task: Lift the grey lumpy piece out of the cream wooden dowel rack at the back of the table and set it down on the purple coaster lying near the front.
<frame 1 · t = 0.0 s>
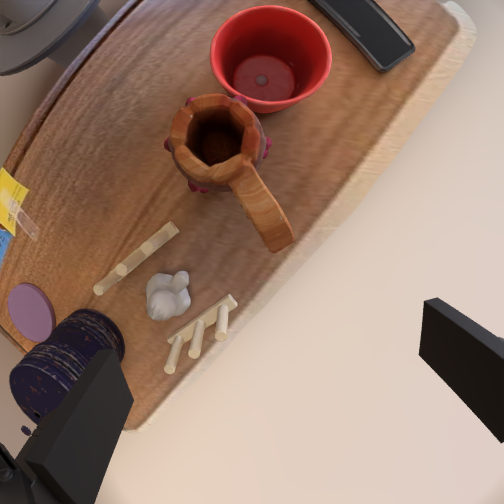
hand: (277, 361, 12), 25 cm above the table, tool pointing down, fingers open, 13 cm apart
grey lumpy piece: (173, 286, 37), on the table
mug: (235, 174, 35), on the table
phone: (360, 21, 31), on the table
rack: (172, 287, 37), on the table
flower pot: (262, 83, 32), on the table
dark blue barrel: (94, 339, 38), on the table
purple coaster: (32, 311, 37), on the table
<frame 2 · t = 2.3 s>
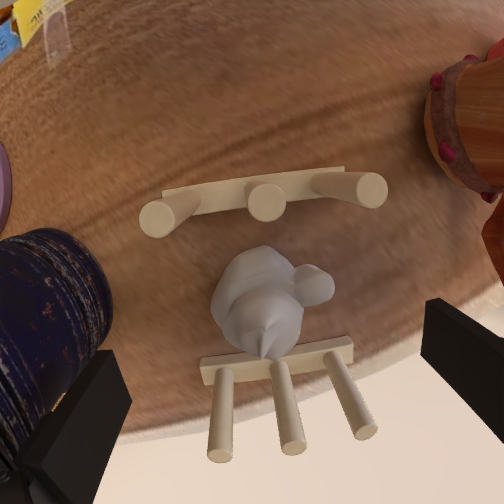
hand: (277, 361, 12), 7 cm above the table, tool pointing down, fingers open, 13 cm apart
grey lumpy piece: (266, 280, 19), on the table
mug: (454, 165, 18), on the table
rack: (267, 281, 19), on the table
dark blue barrel: (55, 294, 19), on the table, touching gripper, hand
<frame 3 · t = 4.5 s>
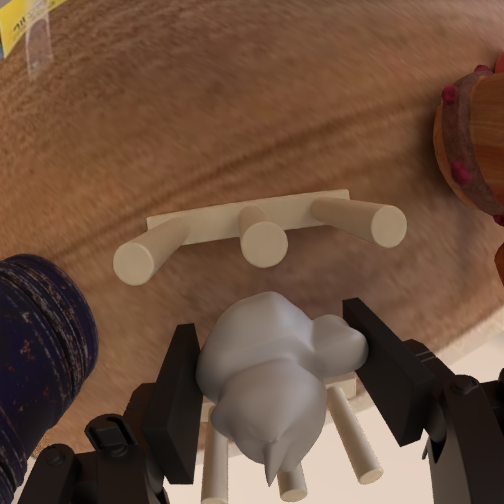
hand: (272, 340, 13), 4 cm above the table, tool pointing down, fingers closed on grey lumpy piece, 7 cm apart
grey lumpy piece: (271, 331, 14), point 3 cm above the table, touching gripper
mug: (463, 184, 16), on the table
rack: (263, 315, 17), on the table
dark blue barrel: (38, 323, 17), on the table
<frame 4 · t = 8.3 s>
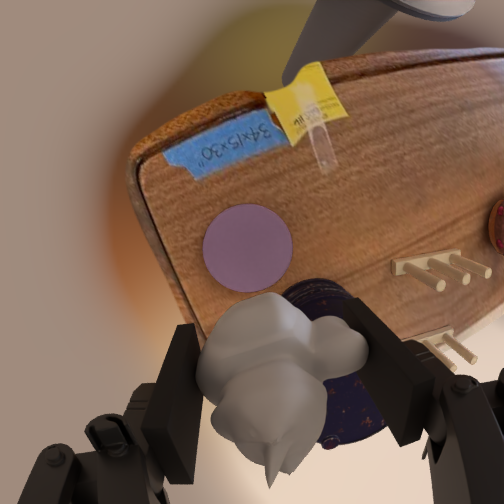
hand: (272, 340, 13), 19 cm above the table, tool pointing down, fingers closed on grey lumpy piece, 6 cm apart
grey lumpy piece: (271, 332, 14), point 19 cm above the table, touching gripper
mug: (496, 241, 34), on the table
rack: (424, 301, 35), on the table
dark blue barrel: (313, 318, 34), on the table
purple coaster: (247, 247, 32), on the table
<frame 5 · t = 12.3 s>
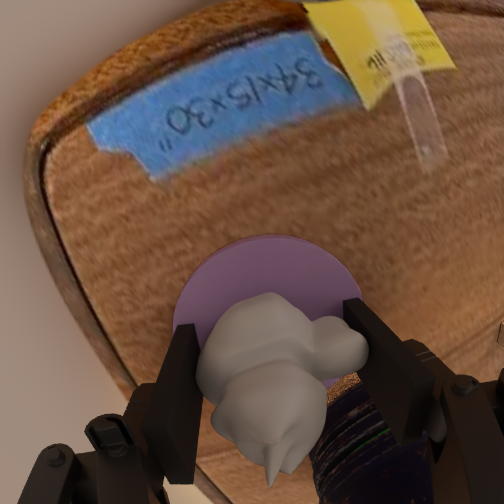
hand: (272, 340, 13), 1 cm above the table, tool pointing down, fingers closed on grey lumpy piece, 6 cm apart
grey lumpy piece: (271, 332, 14), point 1 cm above the table, touching gripper, purple coaster
dark blue barrel: (376, 426, 17), on the table
purple coaster: (270, 327, 15), on the table
when the fingers open (1 cm above the table, at t = 12.4 s): grey lumpy piece stays where it is, resting on purple coaster.
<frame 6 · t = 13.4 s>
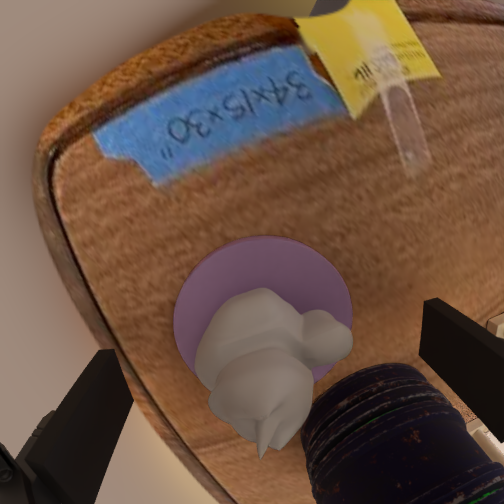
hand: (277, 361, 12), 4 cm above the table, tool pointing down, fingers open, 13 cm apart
grey lumpy piece: (264, 326, 15), point 1 cm above the table, touching purple coaster
dark blue barrel: (367, 418, 18), on the table
purple coaster: (263, 321, 16), on the table
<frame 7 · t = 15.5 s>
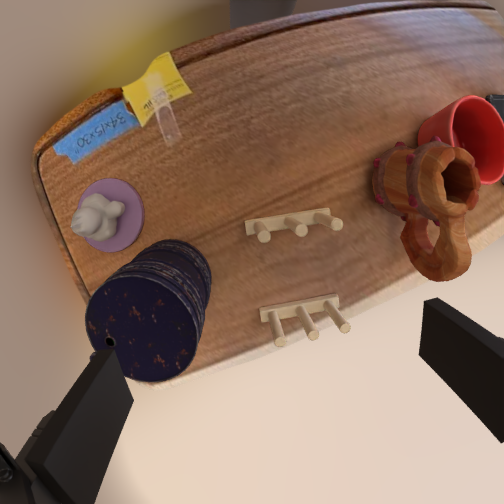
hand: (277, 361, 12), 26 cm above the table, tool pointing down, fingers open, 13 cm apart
grey lumpy piece: (108, 214, 35), point 1 cm above the table, touching purple coaster
mug: (391, 200, 37), on the table
rack: (293, 264, 38), on the table
flower pot: (437, 144, 36), on the table
dark blue barrel: (172, 277, 38), on the table
purple coaster: (110, 214, 35), on the table
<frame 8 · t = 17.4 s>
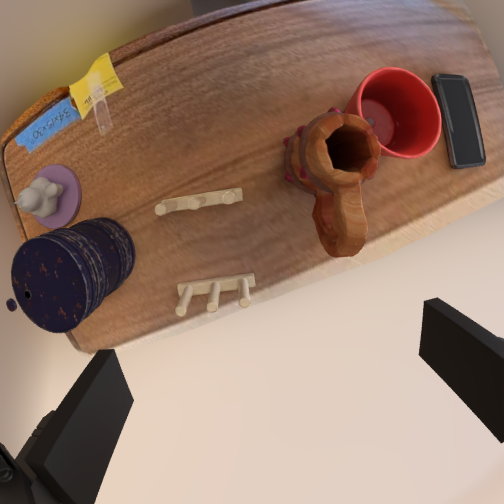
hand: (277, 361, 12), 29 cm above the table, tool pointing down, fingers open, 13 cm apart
grey lumpy piece: (52, 195, 36), point 1 cm above the table, touching purple coaster
mug: (311, 180, 39), on the table
phone: (458, 120, 37), on the table
rack: (209, 242, 40), on the table
flower pot: (368, 124, 37), on the table
dark blue barrel: (103, 252, 39), on the table
purple coaster: (55, 196, 37), on the table
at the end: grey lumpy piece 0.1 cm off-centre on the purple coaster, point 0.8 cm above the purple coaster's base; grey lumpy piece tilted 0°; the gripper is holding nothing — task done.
